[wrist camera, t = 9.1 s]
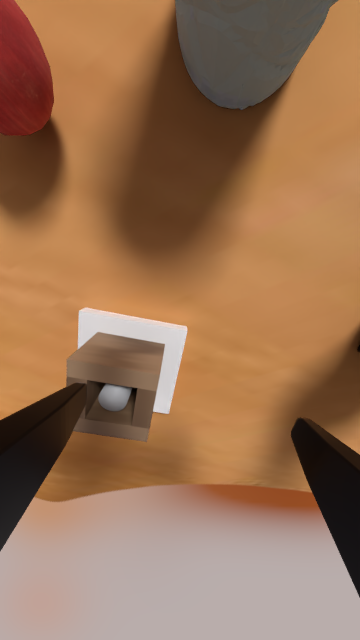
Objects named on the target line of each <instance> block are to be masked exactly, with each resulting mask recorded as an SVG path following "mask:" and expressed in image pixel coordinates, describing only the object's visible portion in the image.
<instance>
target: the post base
mask: <svg viewBox="0 0 360 640" xmlns="http://www.w3.org/2000/svg"><path fill="white" fill-rule="evenodd" d="M97 332H101V333H107V334H112V335H118V336H123V337H129V338H135V339H140V340H146V341H151V342H157V343H162V344H165V348H164V354H163V360H162V366H161V372H160V377H159V382H158V388H157V393H156V398H155V403H154V408H153V412H159V413H166V414H169V410H170V405H171V401H172V397H173V392H174V388H175V383H176V379H177V375H178V370H179V366H180V362H181V357H182V353H183V348H184V344H185V340H186V335H187V326H182V325H176V324H171V323H166V322H160V321H155V320H149V319H144V318H139V317H133V316H128V315H123V314H117V313H112V312H107V311H101V310H96V309H91V308H84V309H82V310H80V311H79V328H78V349H79V348H80V347H81V346H82V345H84V344H85V343H86V342H87V341H88V340H89V339H90V338H91V337H93V336H94V335H95V334H96V333H97ZM132 388H133V387H127V386H121V385H115V384H109V383H106V384H105V386H104V387H103V389H102V391H101V392H100V394H99V397H98V400H99V403H100V405H101V406H102V407H103V408H105V409H106V410H109V411H120V410H122V409H123V408H124V407H125V406H126V404H127V402H128V399H129V396H130V394H131V391H132Z"/></svg>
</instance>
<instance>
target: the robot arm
mask: <svg viewBox="0 0 360 640" xmlns="http://www.w3.org/2000/svg"><path fill="white" fill-rule="evenodd" d="M358 352H360V345H359V347H358ZM86 402H87V384H86V383H81V382H75V383H73V384H71V385H69V386H67V387H65V388H63V389H61V390H59V391H57V392H55V393H53V394H51V395H49V396H47V397H45V398H43V399H41V400H39V401H37V402H35V403H33V404H31V405H29V406H27V407H26V408H24V409H22V410H20V411H18V412H16V413H14V414H12V415H10V416H8V417H6V418H4V419H2V420H0V551H1V549H2V548H3V546H4V545H5V543H6V541H7V539H8V538H9V536H10V535H11V533H12V531H13V530H14V528H15V527H16V525H17V523H18V522H19V520H20V519H21V517H22V515H23V514H24V512H25V510H26V509H27V507H28V506H29V504H30V502H31V501H32V499H33V498H34V496H35V494H36V493H37V491H38V489H39V488H40V486H41V485H42V483H43V481H44V480H45V478H46V476H47V475H48V473H49V472H50V470H51V468H52V467H53V465H54V463H55V462H56V460H57V459H58V457H59V455H60V454H61V452H62V450H63V449H64V447H65V445H66V443H67V442H68V440H69V438H70V436H71V434H72V432H73V430H74V428H75V426H76V424H77V421H78V419H79V417H80V415H81V413H82V411H83V409H84V407H85V405H86ZM291 438H292V441H293V443H294V446H295V449H296V452H297V454H298V457H299V460H300V463H301V465H302V468H303V471H304V474H305V476H306V479H307V481H308V484H309V486H310V488H311V490H312V493H313V495H314V497H315V499H316V501H317V504H318V506H319V508H320V510H321V512H322V515H323V517H324V519H325V521H326V523H327V526H328V528H329V530H330V533H331V534H332V537H333V539H334V541H335V544H336V546H337V548H338V550H339V553H340V555H341V557H342V559H343V561H344V564H345V566H346V568H347V570H348V572H349V575H350V577H351V579H352V581H353V584H354V586H355V588H356V590H357V592H358V594H359V597H360V455H359V454H358V453H356V452H355V451H354V450H352V449H351V448H349V447H348V446H347V445H345V444H344V443H342V442H341V441H340V440H338V439H337V438H335V437H334V436H333V435H331V434H330V433H328V432H327V431H326V430H324V429H323V428H321V427H320V426H319V425H317V424H316V423H314V422H313V421H312V420H310V419H307V418H301V417H300V418H298V419H297V420H296V422H295V424H294V426H293V429H292V431H291Z"/></svg>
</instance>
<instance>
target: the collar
mask: <svg viewBox="0 0 360 640" xmlns="http://www.w3.org/2000/svg"><path fill="white" fill-rule="evenodd" d="M164 348H165V344H162V343H157V342H151V341H146V340H140V339H135V338H129V337H123V336H118V335H112V334H107V333H101V332H97V333H96V334H95V335H94V336H93V337H91V338H90V339H89V340H88V341H87V342H86V343H85V344H84V345H82V346H81V347H80V348H79V349H78V350H77V351H76V352H74V353H73V354H72V355H71V356H70V357H69V358H68V359H67V385H66V387H67V386H69V385H71V384H73V383H75V382H81V383H86V384H87V402H86V405H85V407H84V409H83V411H82V413H81V415H80V417H79V419H78V421H77V424H76V426H75V428H74V430H73V431H76V432H83V433H90V434H97V435H103V436H110V437H117V438H124V439H131V440H138V441H145V442H147V439H148V433H149V428H150V423H151V418H152V413H153V408H154V403H155V398H156V393H157V388H158V382H159V377H160V372H161V366H162V360H163V354H164ZM106 383H109V384H115V385H121V386H127V387H133V388H132V391H131V394H130V396H129V399H128V402H127V404H126V406H125V407H124V408H123V409H122V410H120V411H109V410H106V409H105V408H103V407H102V406H101V405H100V403H99V400H98V397H99V394H100V392H101V391H102V389H103V387H104V386H105V384H106Z"/></svg>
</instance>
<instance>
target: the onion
mask: <svg viewBox="0 0 360 640" xmlns="http://www.w3.org/2000/svg"><path fill="white" fill-rule="evenodd" d="M53 103H54V95H53V84H52V77H51V71H50V66H49V63H48V61H47V58H46V56H45V53H44V51H43V48H42V46H41V43H40V41H39V38H38V37H37V35H36V33H35V31H34V29H33V27H32V26H31V24H30V22H29V20H28V18H27V17H26V15H25V14H24V13H23V11H22V10H21V9H20V7H19V6H18V5H17V3H16V2H15V1H14V0H0V133H1V134H3V135H23V136H24V135H30V134H32V133H34V132H36V131H38V130H40V129H42V128H43V126H44V125H45V124H46V122H47V121H48V120H49V118H50V116H51V112H52V107H53Z"/></svg>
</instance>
